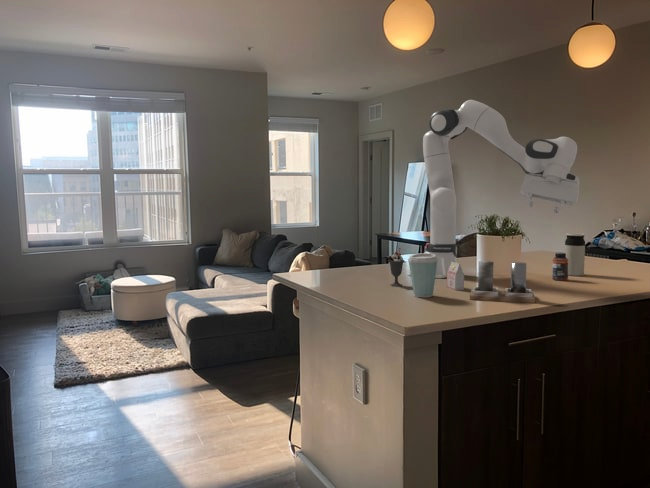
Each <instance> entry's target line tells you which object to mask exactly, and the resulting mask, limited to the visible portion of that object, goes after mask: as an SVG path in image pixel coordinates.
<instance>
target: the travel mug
mask: <svg viewBox="0 0 650 488" xmlns="http://www.w3.org/2000/svg"><path fill="white" fill-rule="evenodd" d="M565 235H566V239H565V240H564V253H566V258H567V259H568V277H570V276H571V277H572V276H573V277H581V276H584V275H585V261H586V260H585V258H586V255H585V254H586V240H585V235H586V234H585V233H579V232H578V233H577V232H571V233H570V232H568V233H565Z"/></svg>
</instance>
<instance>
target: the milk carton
mask: <svg viewBox="0 0 650 488" xmlns="http://www.w3.org/2000/svg"><path fill="white" fill-rule="evenodd" d="M446 288H448V289H451V290H454V291H462V290H463V291H464V289H465V273H464V271H463V269H462V266H461V263H459V262H457V263H455V262H451V263H450V266H449V269H448V271H447V277H446Z"/></svg>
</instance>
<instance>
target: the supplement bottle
mask: <svg viewBox="0 0 650 488" xmlns="http://www.w3.org/2000/svg"><path fill="white" fill-rule="evenodd" d="M552 280H554V281H559V282H562V281H563V282H564V281H565V282H566V281H567V280H569V275H568V259H567V258H566V253H565V252H564V251H563V252H561V251H559V252H555V255H554V257H553V258H552Z"/></svg>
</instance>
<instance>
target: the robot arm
mask: <svg viewBox="0 0 650 488" xmlns="http://www.w3.org/2000/svg"><path fill="white" fill-rule="evenodd" d="M428 126H429V129H430V130H429V131H427V132H425V134H424V135H423V137H422V138H423V139H422V151H423V153H422V154H423V160H424V166H425V174H426V178H427V185H428V190H429V195H430V201H429V203H430V205H429V207H430V208H429V212H430V213H429V217H430V219H429V221H430V222H429V223H430V227H429V228H430V229H429V230H430V231H429V232H430V233H429V235H430V236H429V237H430V238H429V242H426V244H425V251H424V252H423V253H430V254H435V255H436V257H437V258H438V261H437V267H436V275H435V279H444V278H447V271H448V269H449V266H450V263H451V262H455V263H458V262H457V256H458V246H457V238H456V237H457V200H458V199H457V195H456V191H455V190H456V188H455V182H454V175H453V173H454V172H453V169H452V161H451V155H450V148H449V141H450V140H454V139H456V138H457V137H459V136H460V135H462V134H463V133H465V132H467V130H468V128H469V129H470V130H472V131H474V132H475V133H476V134H479V135H480V136H481V137H482V138H484V139H486V140H487V141H488V142H489V143H491V144H492V145H494V146H495V147H496V148H497V149H498V150H499V151H501V152H502V153H503V154H505V156H507V157H509V158H510V159H511V160H512V161H514V162H515V163H516V164H518V165H519V166H520V168H521V169H522V171H523V172H524V174H525V176H524V178H523V182H522V184H521V186H520V188H519V192H520V194H521V195H522V196H527V199H528V202H527V208H533V207H534V201H532V200H533V198H535V199H540V200H544V201H549V202H554V203H560V205H558V206H554V209H553V212H554V213H556V214H559V213H560V210H562V209H563V208H564V207H565V205H569V206H572V207H573V206H576V205H577V203H578V200H579V195H580V184H581V182H580V178H579V176H577V175H576V174H573V173H571V168H572V166H573V165H574V163H575V160H576V157H577V153H578V144H577V143H576V141H575V140H574V139H572V138H571V137H568V136H559V137H558V138H552V139H550V138H549V139H548V138H547V139H546V138H545V139H544V138H541V137H540V138H539V137H537V138H534V139H531V140H530V141H528V142H527V143H526V144H525V147H524V146H522V145H521V143H520V144H519V143H518V142H517V141H516V140H515V139H514V138H513V137H512V135H511V134H510V131H509V128H508V125H507V121H506V119H505V117H504V116H503V115H502V114H501V113H500V112H499V111H497V110H495V109H494V108H493V107H491V106H489V105H487V104H485V103H483V102H481V101H477V100H474V99H468V100H466V101H464V102H463V103H462V104H461V106H460V107H459V108H458V109H453V108H452V109H451V108H450V109H441V110H438V111H435V112H434V113H433V114H432V115H431V116H430V118H429V122H428ZM407 276H409V277H411V273H410V269H409V270H408V271H407Z"/></svg>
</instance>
